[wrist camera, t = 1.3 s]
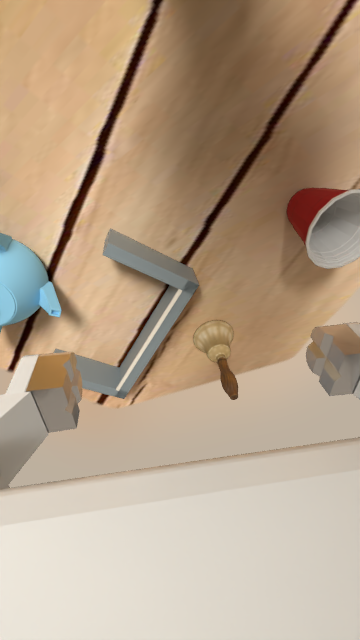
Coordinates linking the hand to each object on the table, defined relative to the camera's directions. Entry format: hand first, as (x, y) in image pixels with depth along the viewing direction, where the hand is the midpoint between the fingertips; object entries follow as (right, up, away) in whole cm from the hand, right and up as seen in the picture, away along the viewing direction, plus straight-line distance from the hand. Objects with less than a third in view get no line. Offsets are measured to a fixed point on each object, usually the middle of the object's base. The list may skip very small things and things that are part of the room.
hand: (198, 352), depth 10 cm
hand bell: (+6, -2, +52) cm, 52 cm away
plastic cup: (+19, +19, +39) cm, 48 cm away
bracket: (-12, +2, +45) cm, 47 cm away
